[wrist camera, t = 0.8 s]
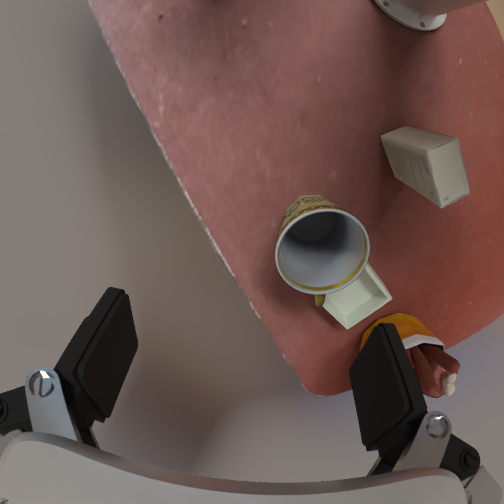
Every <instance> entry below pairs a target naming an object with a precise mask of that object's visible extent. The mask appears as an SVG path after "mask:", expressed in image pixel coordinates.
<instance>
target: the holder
mask: <svg viewBox="0 0 504 504" xmlns="http://www.w3.org/2000/svg"><path fill="white" fill-rule="evenodd" d="M314 295H315V294H314ZM391 299H392V297H391V295H390V293H389V292H388V290H387V288H386V286H385V285H384V283H383V282H382V281H381V279H380V278H379V277H378V275H377V274H376V273H375V271H374V270H373V269H372V267H371V266H370V265H369V263H367V265H366V267H365V269H364V270H363V272H362V273H361V275H360V276H359V277H358V278H357V279H356V280H355V281H354V282H353V283H351V284H350V285H348V286H347V287H345V288H343V289H341V290H339V291H336V292H333V293H329V294H326V297H325V302H324V304H323V307H324V308H325V309H326V310H327V311H328V312H329V313H330V314H331V315H332V316H333V317H334V318H335V319H336V320H337V321H339V322H340V323H341V324H342V325H343V326H344V327H345V328H346V329H349V328H350V327H352V326H354V325H355V324H357V323H358V322H360V321H361V320H363V319H364V318H366V317H367V316H369V315H370V314H372V313H373V312H374V311H376V310H377V309H379V308H380V307H382V306H383V305H384V304H386V303H387V302H389V301H390V300H391Z"/></svg>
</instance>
